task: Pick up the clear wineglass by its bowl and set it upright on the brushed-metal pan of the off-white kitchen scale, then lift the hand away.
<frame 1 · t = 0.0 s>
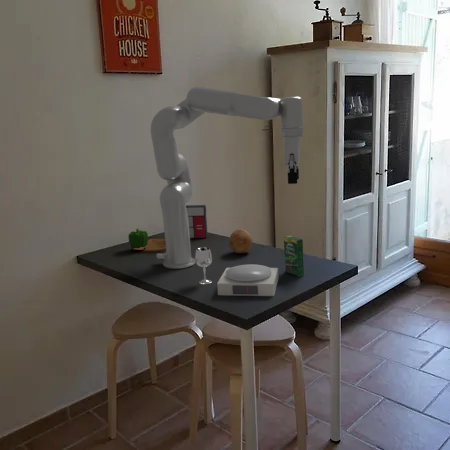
hand: (293, 181, 184), 31 cm above the table, tool pointing down, fingers open, 9 cm apart
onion: (241, 253, 210), on the table
kitchen scale: (249, 286, 171), on the table
bell pepper: (139, 250, 224), on the table
wineglass: (205, 282, 178), on the table
coffee box: (294, 273, 182), on the table
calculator: (195, 238, 239), on the table
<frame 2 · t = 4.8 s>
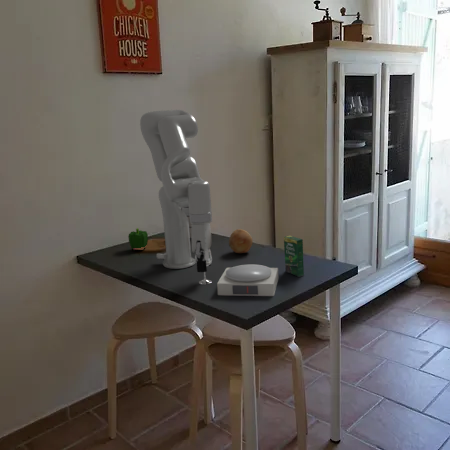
hand: (204, 268, 177), 5 cm above the table, tool pointing down, fingers closed on wineglass, 5 cm apart
wineglass: (205, 282, 178), on the table, touching gripper
everything else where it was.
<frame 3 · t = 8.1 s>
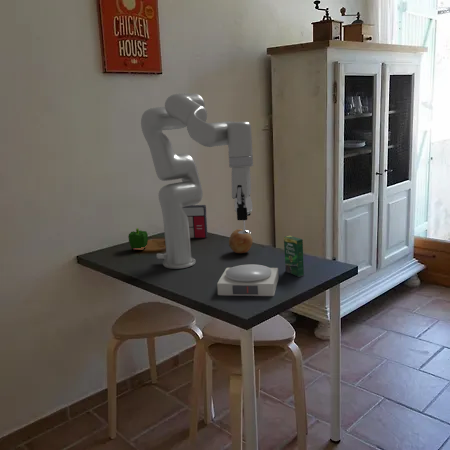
hand: (244, 217, 166), 24 cm above the table, tool pointing down, fingers closed on wineglass, 5 cm apart
wineglass: (244, 232, 167), point 19 cm above the table, touching gripper
everything else where it was.
when the fingers open (11 cm above the table, at t = 11.3 s): wineglass stays where it is, resting on kitchen scale.
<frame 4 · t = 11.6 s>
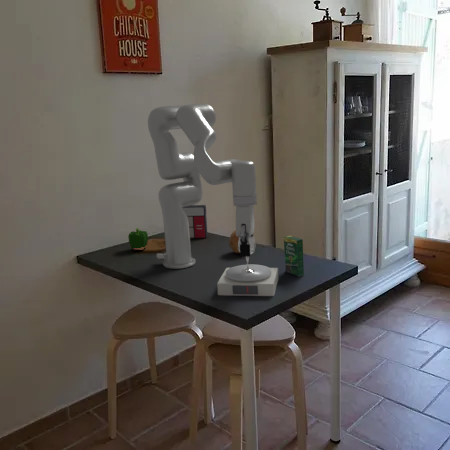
hand: (247, 252, 168), 12 cm above the table, tool pointing down, fingers open, 8 cm apart
wineglass: (248, 271, 170), point 5 cm above the table, touching kitchen scale
everything else where it was.
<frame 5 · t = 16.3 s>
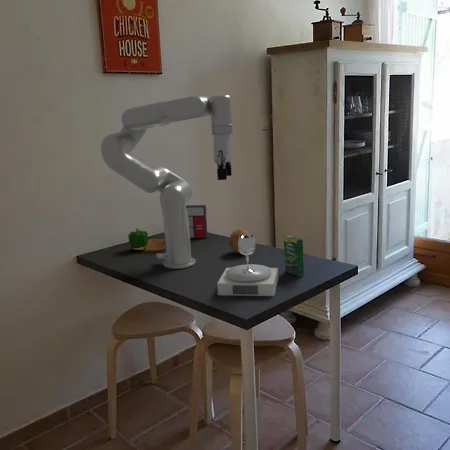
hand: (224, 177, 189), 33 cm above the table, tool pointing down, fingers open, 9 cm apart
nothing on the table moved.
at the end: wineglass inside the target area on the kitchen scale (0.2 cm from its centre), point 5.2 cm above the kitchen scale's base; wineglass tilted 0°; the gripper is holding nothing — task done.
